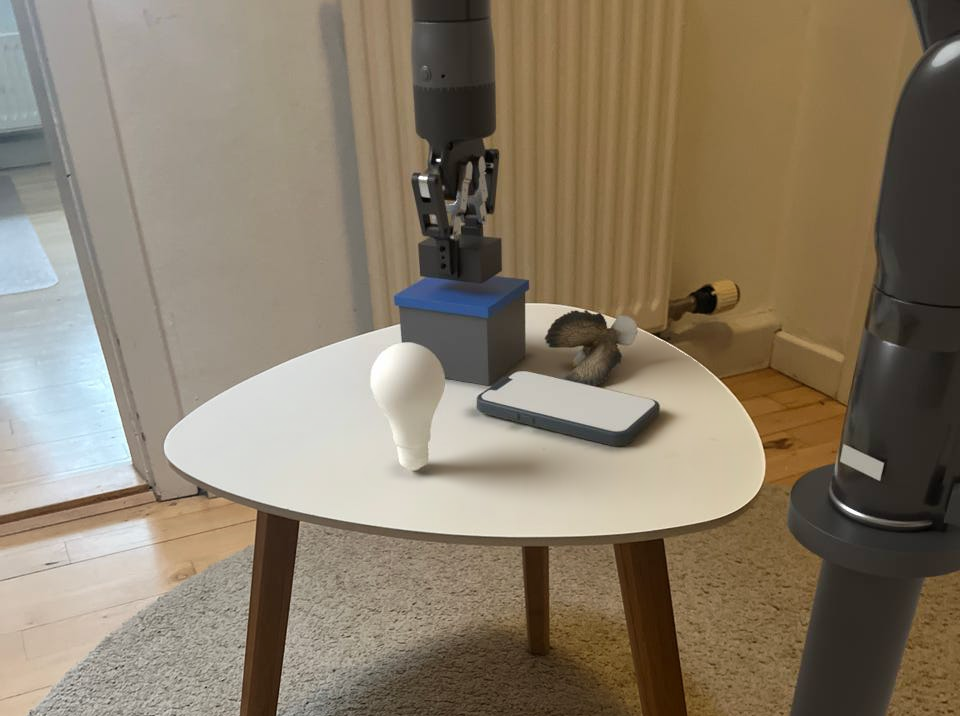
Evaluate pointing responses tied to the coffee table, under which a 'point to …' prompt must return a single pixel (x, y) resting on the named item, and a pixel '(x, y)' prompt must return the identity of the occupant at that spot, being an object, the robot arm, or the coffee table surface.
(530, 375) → the smartphone
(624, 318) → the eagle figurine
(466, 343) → the container
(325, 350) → the coffee table surface
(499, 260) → the case
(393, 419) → the lightbulb
